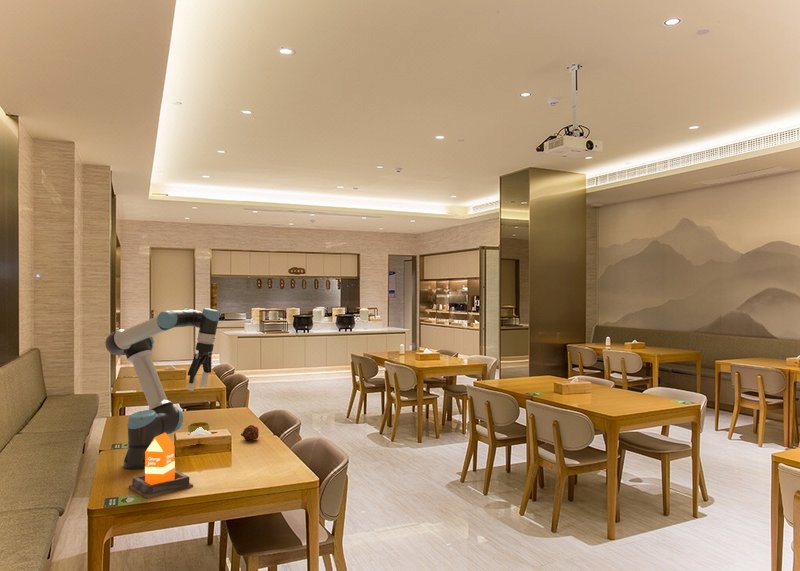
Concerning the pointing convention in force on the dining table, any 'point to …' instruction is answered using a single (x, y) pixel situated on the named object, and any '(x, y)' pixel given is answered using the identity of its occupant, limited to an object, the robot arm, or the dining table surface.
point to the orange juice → (160, 460)
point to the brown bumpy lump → (250, 433)
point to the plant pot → (196, 425)
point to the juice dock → (160, 485)
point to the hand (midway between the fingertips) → (196, 388)
